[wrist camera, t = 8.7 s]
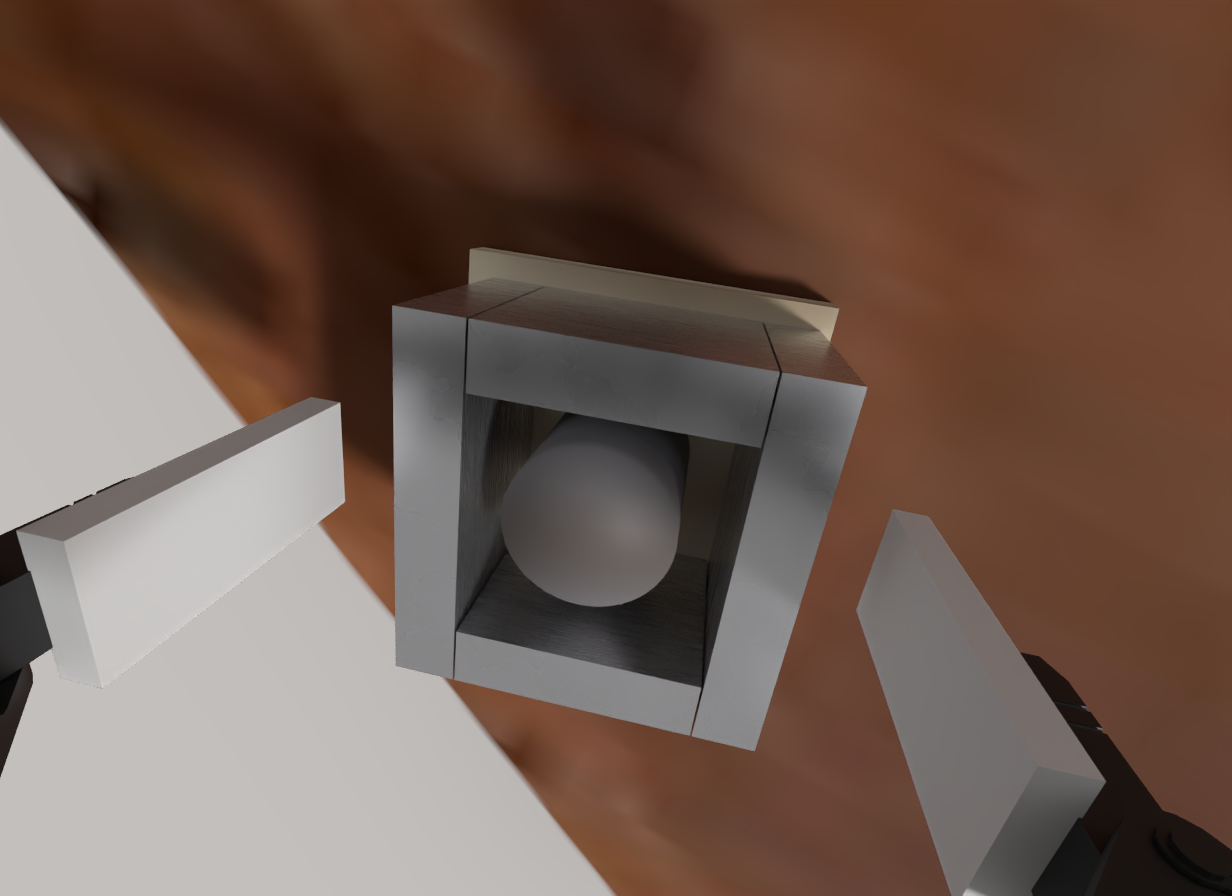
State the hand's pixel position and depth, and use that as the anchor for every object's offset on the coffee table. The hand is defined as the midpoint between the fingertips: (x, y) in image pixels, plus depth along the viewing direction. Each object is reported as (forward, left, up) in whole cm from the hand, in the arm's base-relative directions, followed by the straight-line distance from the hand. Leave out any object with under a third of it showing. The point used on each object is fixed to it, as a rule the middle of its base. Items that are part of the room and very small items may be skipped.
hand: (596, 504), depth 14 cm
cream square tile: (0, 0, -5) cm, 5 cm away
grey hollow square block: (0, 0, -4) cm, 4 cm away
